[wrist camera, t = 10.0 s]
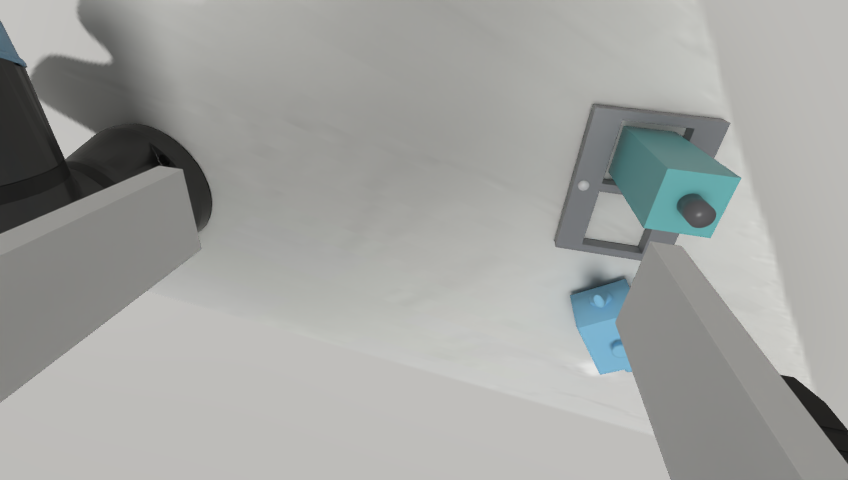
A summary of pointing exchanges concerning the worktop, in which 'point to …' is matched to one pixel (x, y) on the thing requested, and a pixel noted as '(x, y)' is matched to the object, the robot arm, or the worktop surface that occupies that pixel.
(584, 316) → the boxy blue kettle
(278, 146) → the worktop surface
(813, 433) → the robot arm
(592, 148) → the socket plate
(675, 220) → the plug
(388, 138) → the worktop surface
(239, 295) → the worktop surface
